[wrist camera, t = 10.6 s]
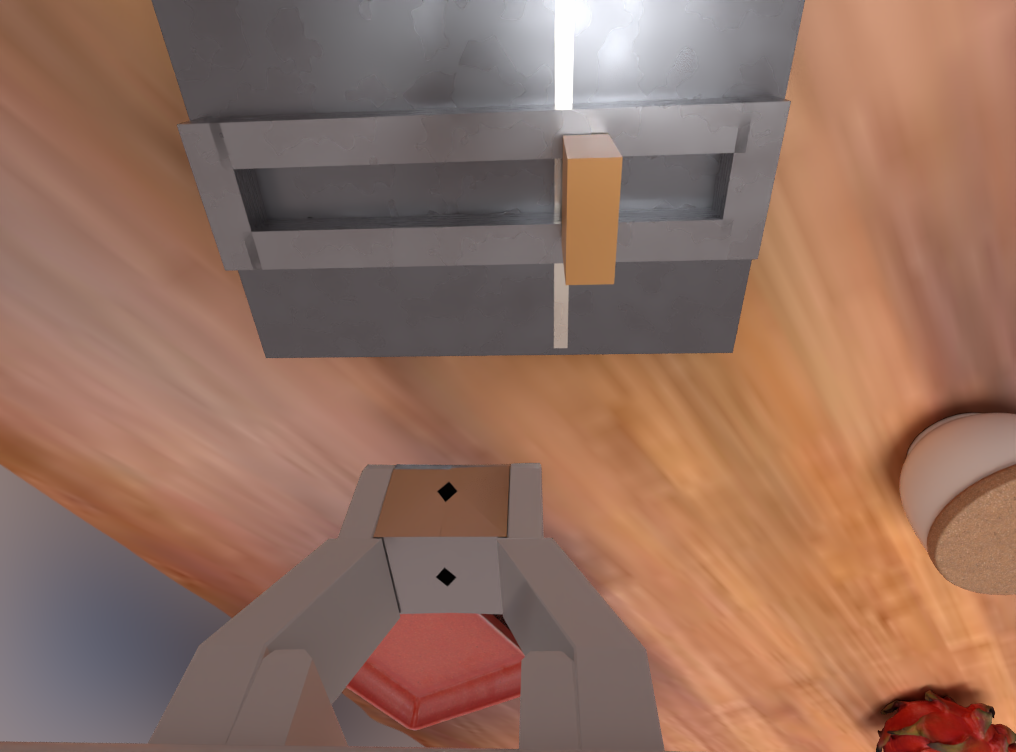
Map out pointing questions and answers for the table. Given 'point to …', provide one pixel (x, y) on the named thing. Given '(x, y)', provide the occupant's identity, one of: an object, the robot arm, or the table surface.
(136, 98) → the table surface
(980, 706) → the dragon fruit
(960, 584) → the lidded jar
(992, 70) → the table surface
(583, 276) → the block
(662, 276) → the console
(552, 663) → the robot arm
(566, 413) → the table surface
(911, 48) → the table surface
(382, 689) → the plant saucer
